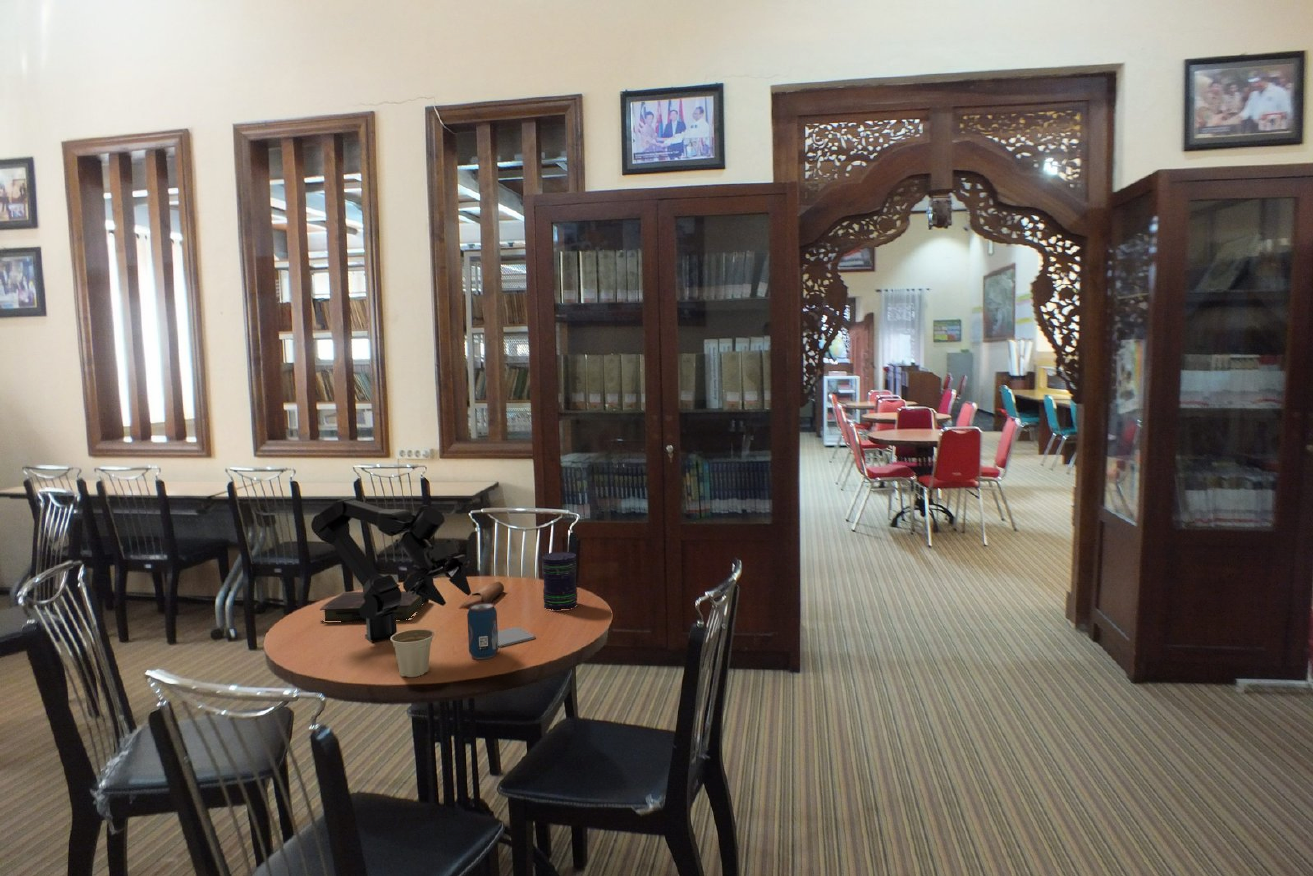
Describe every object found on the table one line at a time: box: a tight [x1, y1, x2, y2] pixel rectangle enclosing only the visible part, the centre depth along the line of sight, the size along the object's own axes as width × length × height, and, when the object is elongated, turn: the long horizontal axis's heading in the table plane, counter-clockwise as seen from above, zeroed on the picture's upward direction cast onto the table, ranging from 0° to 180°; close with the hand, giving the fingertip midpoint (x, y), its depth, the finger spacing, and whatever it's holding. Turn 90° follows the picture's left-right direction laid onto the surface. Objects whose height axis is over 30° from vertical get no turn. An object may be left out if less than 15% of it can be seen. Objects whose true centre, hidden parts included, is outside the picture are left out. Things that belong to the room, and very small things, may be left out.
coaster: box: [498, 626, 536, 648], centre depth 195 cm, size 10×10×1 cm
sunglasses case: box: [458, 581, 505, 610], centre depth 230 cm, size 18×7×7 cm, turn 174°
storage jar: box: [541, 551, 578, 610], centre depth 221 cm, size 10×10×15 cm
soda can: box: [466, 602, 499, 660], centre depth 183 cm, size 7×7×12 cm
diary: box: [319, 590, 430, 624], centre depth 220 cm, size 19×25×5 cm
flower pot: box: [390, 628, 435, 678], centre depth 173 cm, size 9×9×9 cm
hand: (457, 599), depth 186 cm, fingers open, 9 cm apart
